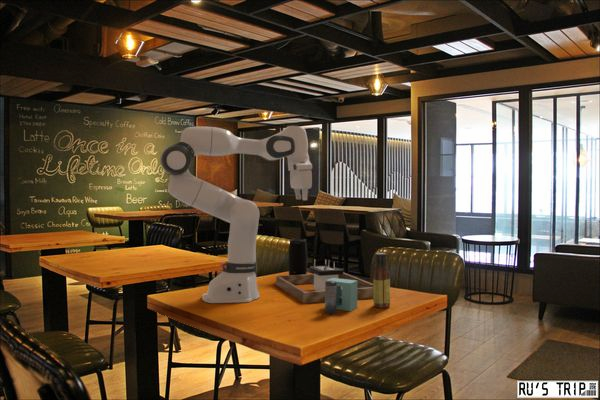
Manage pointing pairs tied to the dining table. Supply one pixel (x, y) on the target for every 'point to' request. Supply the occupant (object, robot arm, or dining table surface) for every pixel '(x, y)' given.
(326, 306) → the dark piece
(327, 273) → the black-topped pedestal
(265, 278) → the dining table surface
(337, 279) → the eye block
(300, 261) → the portable speaker
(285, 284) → the tray frame
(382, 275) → the sauce bottle
